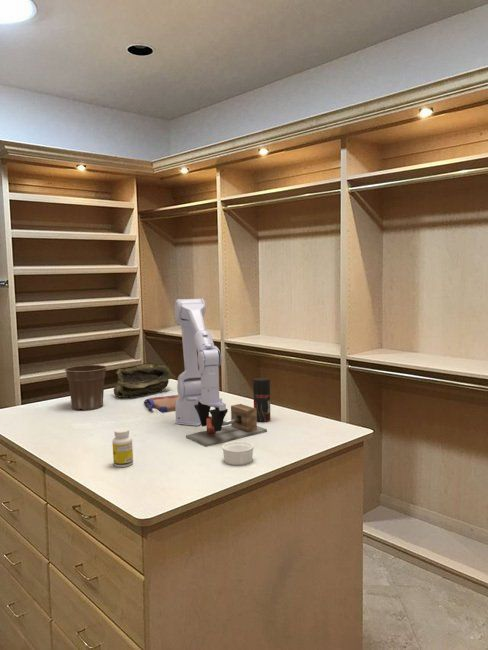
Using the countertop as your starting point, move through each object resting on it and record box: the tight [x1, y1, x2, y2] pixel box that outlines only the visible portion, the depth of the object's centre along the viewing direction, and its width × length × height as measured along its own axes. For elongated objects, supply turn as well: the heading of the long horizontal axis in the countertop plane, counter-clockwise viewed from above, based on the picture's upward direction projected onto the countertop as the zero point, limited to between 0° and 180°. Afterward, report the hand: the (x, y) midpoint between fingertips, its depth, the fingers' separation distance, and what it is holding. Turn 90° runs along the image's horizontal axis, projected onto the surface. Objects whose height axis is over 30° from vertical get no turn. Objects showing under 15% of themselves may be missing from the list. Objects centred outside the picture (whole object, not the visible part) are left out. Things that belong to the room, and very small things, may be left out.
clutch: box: [143, 394, 179, 414], centre depth 219 cm, size 28×5×20 cm
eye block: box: [185, 403, 268, 447], centre depth 176 cm, size 24×12×8 cm, turn 126°
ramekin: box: [221, 440, 255, 466], centre depth 152 cm, size 9×9×4 cm
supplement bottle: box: [111, 427, 134, 468], centre depth 150 cm, size 5×5×10 cm
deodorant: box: [252, 377, 272, 423], centre depth 192 cm, size 6×6×15 cm
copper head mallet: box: [206, 415, 242, 435], centre depth 177 cm, size 18×3×5 cm, turn 126°
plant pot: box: [64, 364, 108, 411], centre depth 217 cm, size 16×16×16 cm
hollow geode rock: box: [113, 362, 173, 398], centre depth 241 cm, size 28×13×15 cm
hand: (211, 428), depth 173 cm, fingers open, 7 cm apart
